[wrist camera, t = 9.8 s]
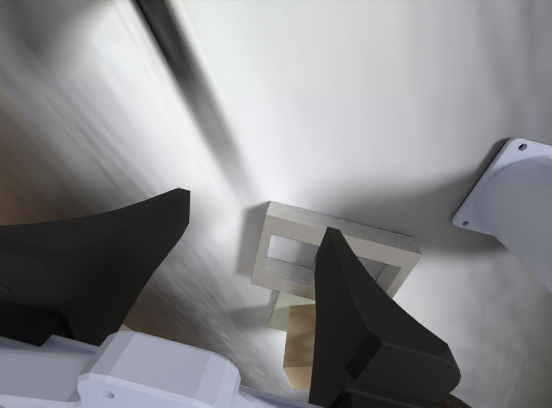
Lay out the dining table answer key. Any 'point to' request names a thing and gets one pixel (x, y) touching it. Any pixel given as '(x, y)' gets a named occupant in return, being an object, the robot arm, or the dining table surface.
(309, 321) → the maple peg
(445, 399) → the glass bottle
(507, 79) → the dining table surface
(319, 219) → the white flat frame
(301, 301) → the ceramic tile
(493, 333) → the dining table surface
